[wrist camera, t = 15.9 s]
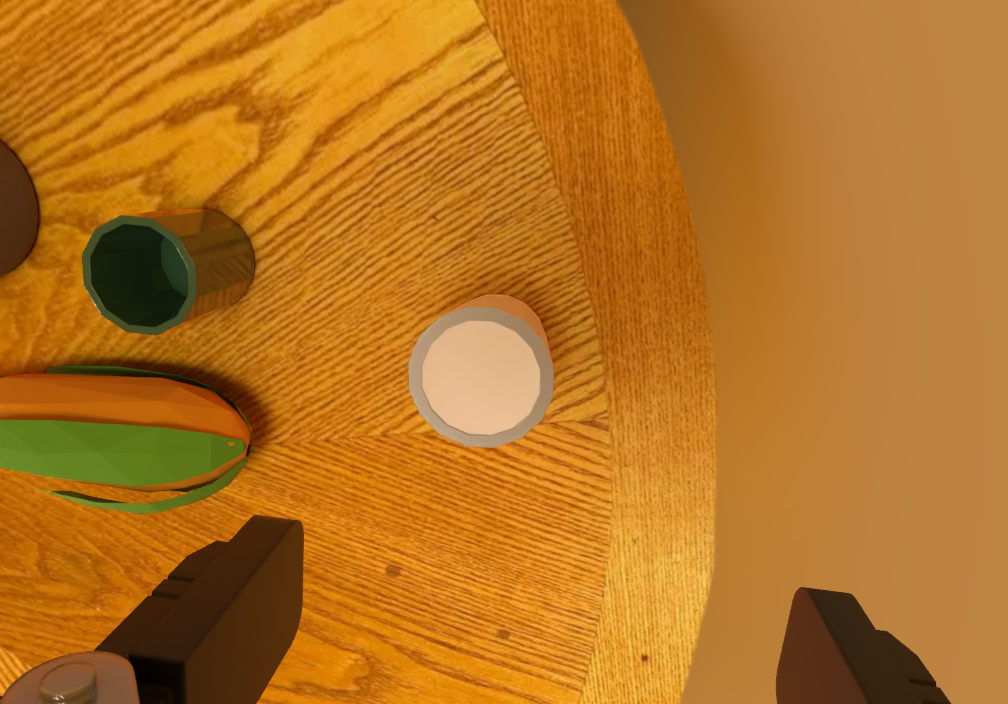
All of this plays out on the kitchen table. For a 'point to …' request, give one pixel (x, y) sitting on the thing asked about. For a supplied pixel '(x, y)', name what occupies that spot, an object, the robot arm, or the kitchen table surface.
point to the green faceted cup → (166, 268)
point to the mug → (15, 212)
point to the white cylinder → (483, 372)
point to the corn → (122, 433)
